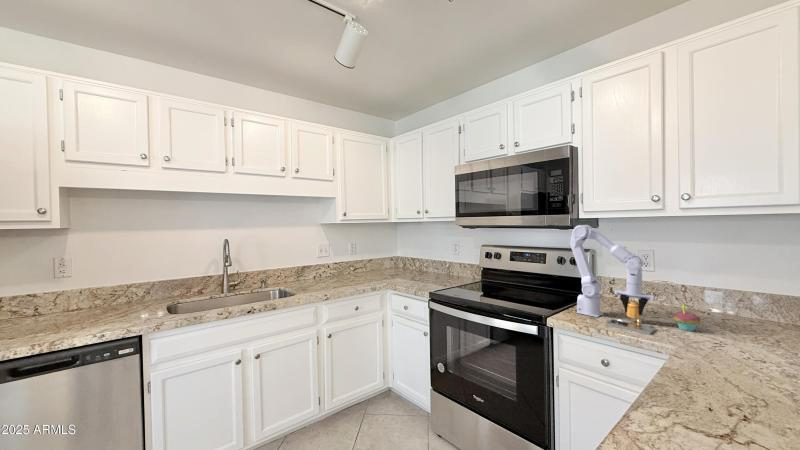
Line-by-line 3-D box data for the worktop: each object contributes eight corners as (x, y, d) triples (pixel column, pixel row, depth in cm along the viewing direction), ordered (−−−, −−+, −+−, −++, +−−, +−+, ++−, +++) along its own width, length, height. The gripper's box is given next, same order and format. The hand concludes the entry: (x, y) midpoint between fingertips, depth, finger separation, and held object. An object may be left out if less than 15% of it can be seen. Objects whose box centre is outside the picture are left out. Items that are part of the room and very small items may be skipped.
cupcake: (690, 333, 129) (690, 304, 129) (667, 327, 137) (668, 299, 137) (705, 331, 131) (705, 302, 131) (682, 325, 140) (682, 297, 139)
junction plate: (605, 324, 141) (605, 315, 141) (612, 320, 147) (612, 311, 147) (650, 334, 129) (650, 324, 129) (656, 329, 134) (656, 320, 134)
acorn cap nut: (625, 316, 145) (626, 302, 144) (629, 314, 147) (629, 300, 147) (638, 319, 141) (638, 304, 141) (641, 316, 144) (641, 302, 144)
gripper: (656, 284, 141) (656, 315, 141) (618, 279, 152) (618, 307, 152) (652, 287, 136) (651, 318, 137) (613, 281, 147) (612, 310, 148)
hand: (633, 313), depth 144 cm, fingers closed on acorn cap nut, 5 cm apart
